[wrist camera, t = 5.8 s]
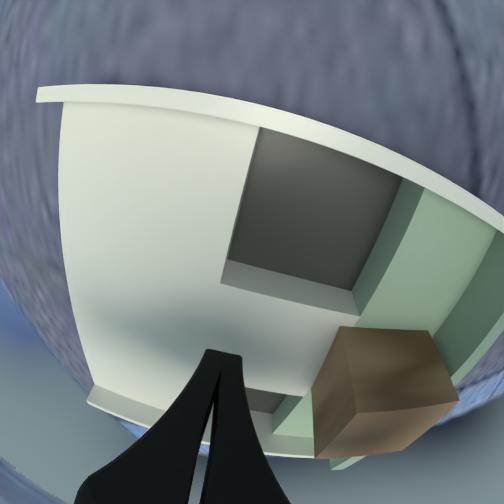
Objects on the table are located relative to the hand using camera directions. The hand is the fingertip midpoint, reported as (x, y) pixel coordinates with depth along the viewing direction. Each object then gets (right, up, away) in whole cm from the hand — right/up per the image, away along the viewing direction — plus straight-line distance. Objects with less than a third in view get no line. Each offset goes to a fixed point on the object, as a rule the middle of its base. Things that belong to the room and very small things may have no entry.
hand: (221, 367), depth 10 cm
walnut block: (+7, -1, +1) cm, 7 cm away
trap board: (+1, +1, +3) cm, 4 cm away
